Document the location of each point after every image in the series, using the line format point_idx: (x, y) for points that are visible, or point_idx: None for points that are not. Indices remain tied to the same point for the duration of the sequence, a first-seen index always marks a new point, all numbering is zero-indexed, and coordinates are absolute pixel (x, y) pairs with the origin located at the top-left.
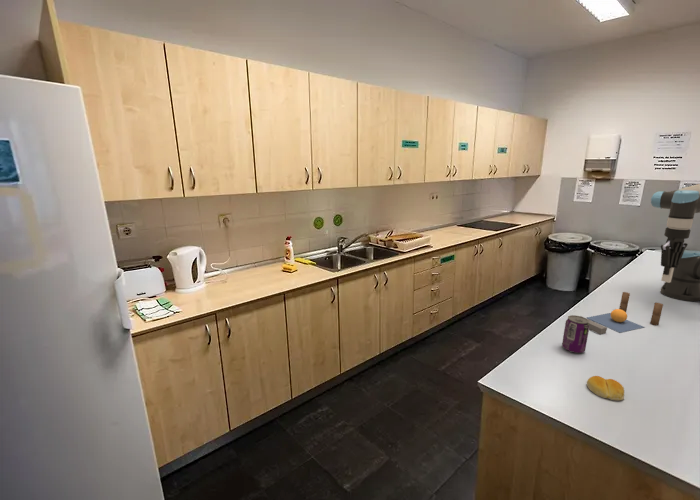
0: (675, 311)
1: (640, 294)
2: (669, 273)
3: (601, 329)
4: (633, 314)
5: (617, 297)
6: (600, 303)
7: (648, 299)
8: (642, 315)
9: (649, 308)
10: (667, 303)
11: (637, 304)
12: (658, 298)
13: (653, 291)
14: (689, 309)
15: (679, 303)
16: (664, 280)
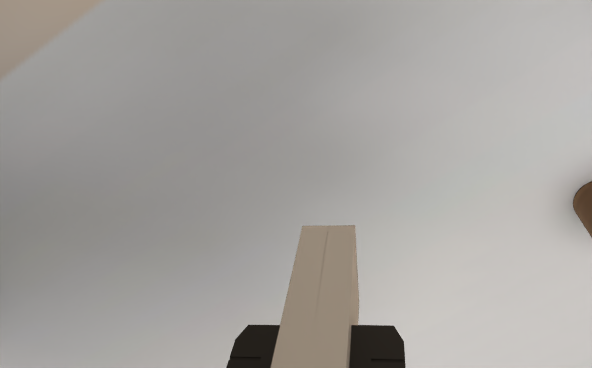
0: (185, 88)
1: (138, 344)
2: (351, 336)
3: None
4: (573, 142)
5: None
6: (575, 338)
7: (166, 281)
8: (525, 108)
9: (322, 181)
10: (102, 201)
11: None
12: (83, 271)
13: (11, 346)
14: (45, 84)
15: (18, 177)
16: (357, 280)
